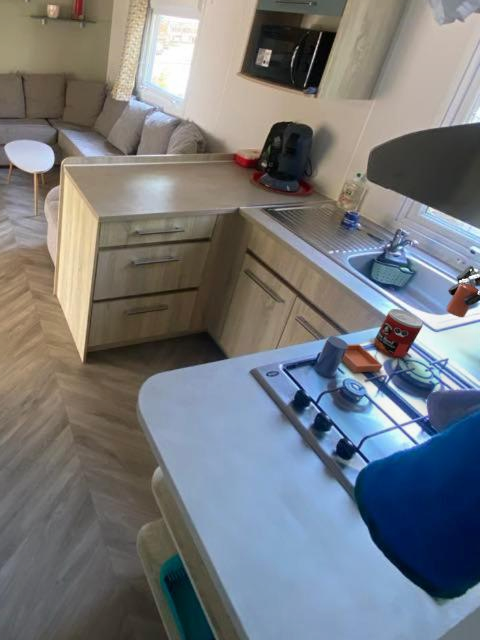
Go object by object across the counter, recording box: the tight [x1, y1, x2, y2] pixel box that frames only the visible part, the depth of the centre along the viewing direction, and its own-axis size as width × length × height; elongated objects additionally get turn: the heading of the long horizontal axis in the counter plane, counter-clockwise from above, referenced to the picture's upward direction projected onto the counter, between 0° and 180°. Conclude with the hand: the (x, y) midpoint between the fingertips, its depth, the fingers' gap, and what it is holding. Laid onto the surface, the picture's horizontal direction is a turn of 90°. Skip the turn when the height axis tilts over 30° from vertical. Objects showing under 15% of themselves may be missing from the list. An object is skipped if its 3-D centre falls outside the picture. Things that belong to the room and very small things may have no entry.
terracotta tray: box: [341, 343, 383, 373], centre depth 111 cm, size 8×8×2 cm
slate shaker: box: [314, 335, 349, 378], centre depth 104 cm, size 5×5×9 cm
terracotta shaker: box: [445, 283, 480, 318], centre depth 124 cm, size 5×5×9 cm
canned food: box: [373, 308, 424, 359], centre depth 116 cm, size 8×8×11 cm
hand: (457, 297), depth 124 cm, fingers closed on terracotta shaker, 4 cm apart
